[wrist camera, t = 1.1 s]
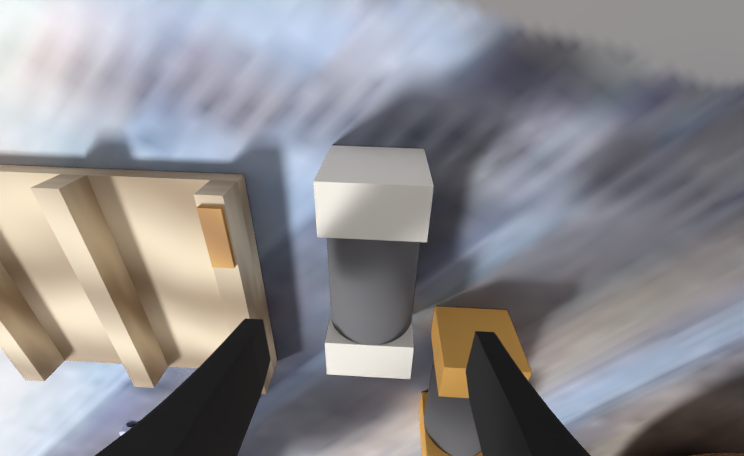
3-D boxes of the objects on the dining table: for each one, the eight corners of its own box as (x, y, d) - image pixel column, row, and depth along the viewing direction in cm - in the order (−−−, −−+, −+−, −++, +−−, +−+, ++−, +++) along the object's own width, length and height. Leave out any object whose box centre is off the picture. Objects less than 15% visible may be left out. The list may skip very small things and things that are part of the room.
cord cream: (406, 317, 20) (410, 379, 16) (338, 314, 20) (326, 374, 17) (424, 148, 15) (433, 186, 11) (331, 145, 15) (313, 181, 12)
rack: (277, 361, 22) (265, 397, 20) (57, 349, 23) (22, 382, 21) (243, 174, 16) (220, 198, 14) (-66, 161, 16) (-135, 182, 14)
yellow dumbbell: (475, 414, 24) (489, 478, 21) (418, 411, 24) (423, 474, 21) (507, 310, 19) (532, 372, 16) (434, 306, 19) (444, 367, 16)
